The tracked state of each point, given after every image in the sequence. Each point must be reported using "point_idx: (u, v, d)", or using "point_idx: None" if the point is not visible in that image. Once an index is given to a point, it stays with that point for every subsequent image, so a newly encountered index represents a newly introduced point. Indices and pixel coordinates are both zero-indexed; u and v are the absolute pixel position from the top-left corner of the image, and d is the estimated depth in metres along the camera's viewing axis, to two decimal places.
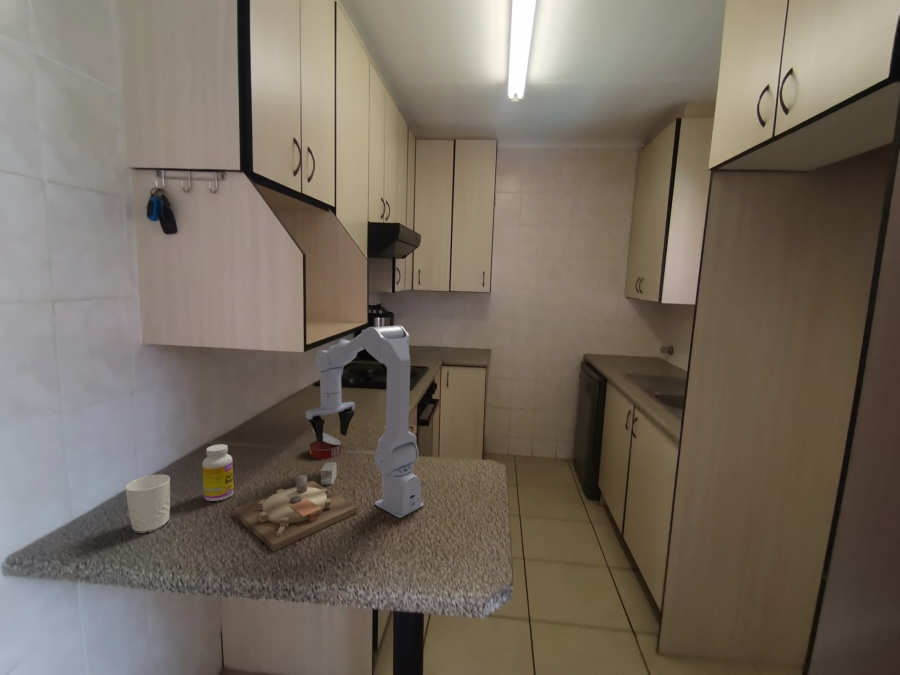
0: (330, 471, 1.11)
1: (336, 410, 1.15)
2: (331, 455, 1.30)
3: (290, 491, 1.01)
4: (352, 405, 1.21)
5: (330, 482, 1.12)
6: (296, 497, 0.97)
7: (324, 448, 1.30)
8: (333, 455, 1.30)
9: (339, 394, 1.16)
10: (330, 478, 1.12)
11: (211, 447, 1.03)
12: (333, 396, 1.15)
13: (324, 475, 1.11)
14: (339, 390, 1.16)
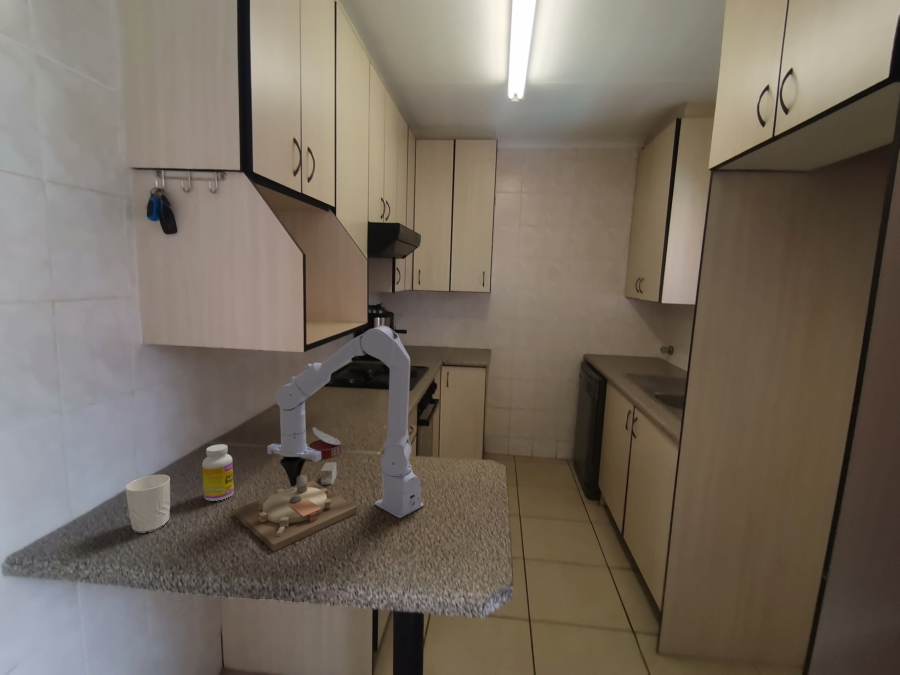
0: (330, 471, 1.11)
1: (284, 454, 0.98)
2: (331, 455, 1.30)
3: (290, 491, 1.01)
4: (312, 456, 0.98)
5: (330, 482, 1.12)
6: (296, 497, 0.97)
7: (324, 448, 1.30)
8: (333, 455, 1.30)
9: (289, 437, 0.98)
10: (330, 478, 1.12)
11: (211, 447, 1.03)
12: (282, 437, 0.98)
13: (324, 475, 1.11)
14: (305, 427, 1.01)
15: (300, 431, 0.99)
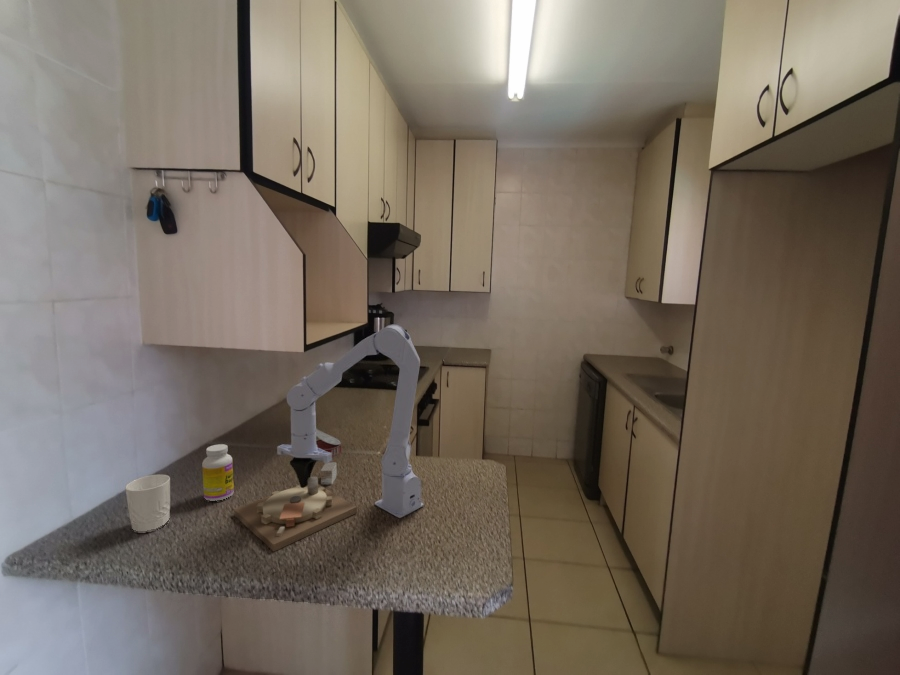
0: (330, 471, 1.11)
1: (294, 455, 0.97)
2: None
3: (304, 489, 1.02)
4: (323, 457, 0.97)
5: (330, 482, 1.12)
6: (297, 498, 0.96)
7: (324, 448, 1.30)
8: (333, 455, 1.30)
9: (300, 438, 0.97)
10: (330, 478, 1.12)
11: (211, 447, 1.03)
12: (293, 438, 0.97)
13: (324, 475, 1.11)
14: None
15: (311, 432, 0.98)
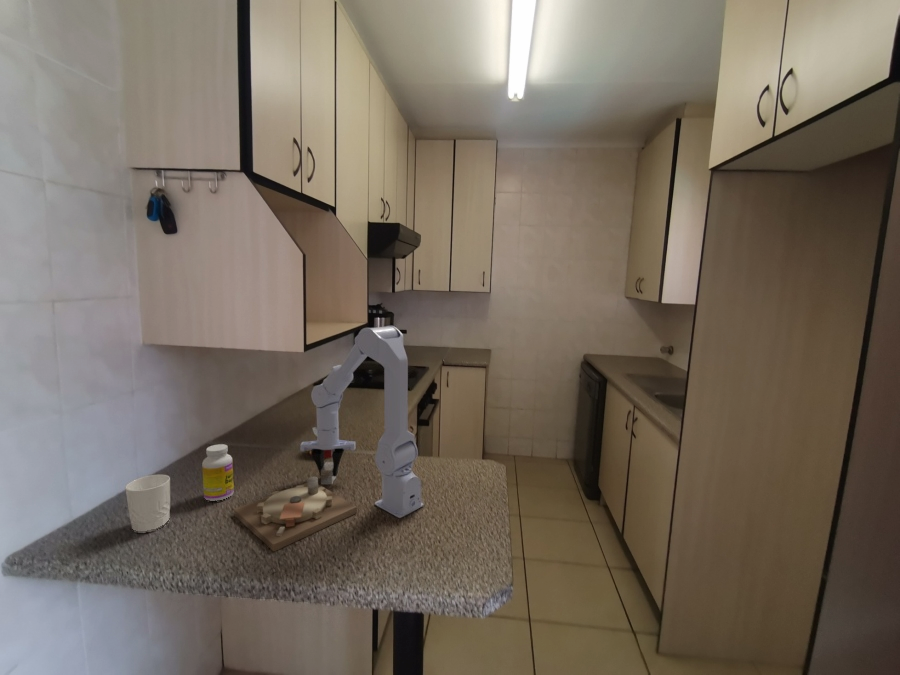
0: (330, 471, 1.11)
1: (324, 448, 1.10)
2: (331, 455, 1.30)
3: (304, 489, 1.02)
4: (350, 446, 1.13)
5: (330, 482, 1.12)
6: (297, 498, 0.96)
7: None
8: None
9: (330, 432, 1.10)
10: (330, 478, 1.12)
11: (211, 447, 1.03)
12: (322, 433, 1.10)
13: (324, 474, 1.11)
14: (337, 425, 1.12)
15: (329, 428, 1.10)
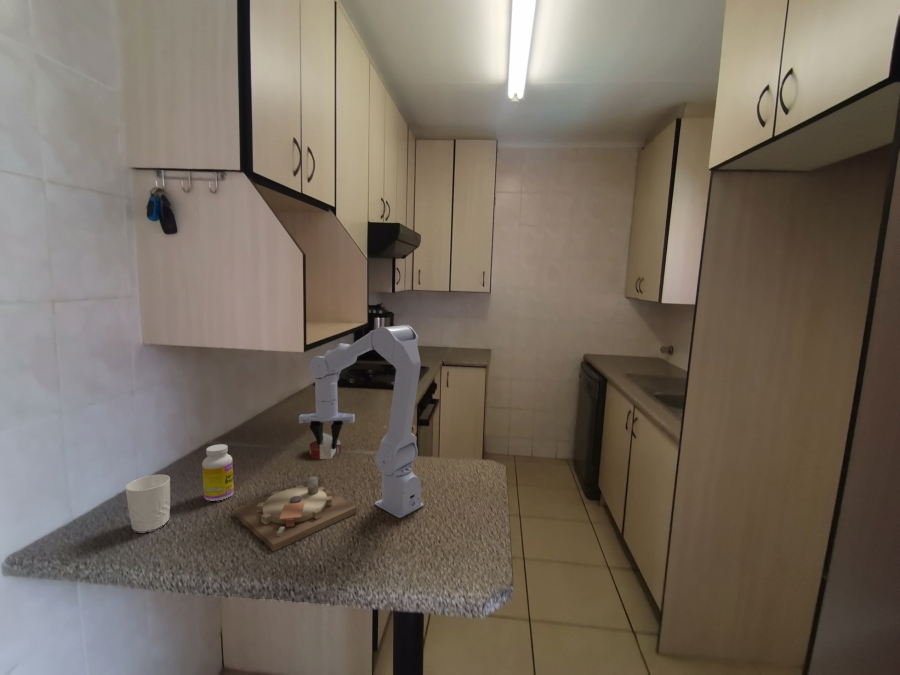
0: (329, 445, 1.10)
1: (323, 419, 1.09)
2: None
3: (304, 489, 1.02)
4: (349, 418, 1.11)
5: (329, 456, 1.11)
6: (297, 498, 0.96)
7: None
8: (333, 455, 1.30)
9: (328, 403, 1.09)
10: (329, 452, 1.11)
11: (211, 447, 1.03)
12: (321, 404, 1.09)
13: (322, 449, 1.10)
14: (336, 397, 1.11)
15: (328, 399, 1.09)
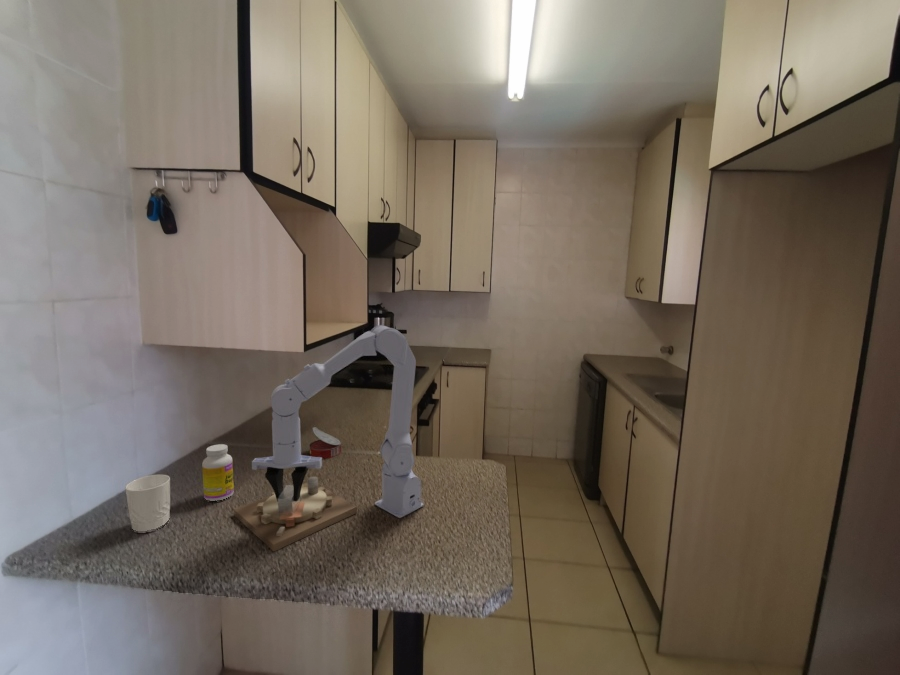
0: (290, 499, 0.89)
1: (281, 466, 0.88)
2: (331, 455, 1.30)
3: (304, 489, 1.02)
4: (315, 463, 0.90)
5: (290, 512, 0.90)
6: None
7: (324, 448, 1.30)
8: (333, 455, 1.30)
9: (288, 446, 0.88)
10: (290, 507, 0.90)
11: (211, 447, 1.03)
12: (278, 447, 0.87)
13: (282, 504, 0.89)
14: None
15: (298, 438, 0.90)
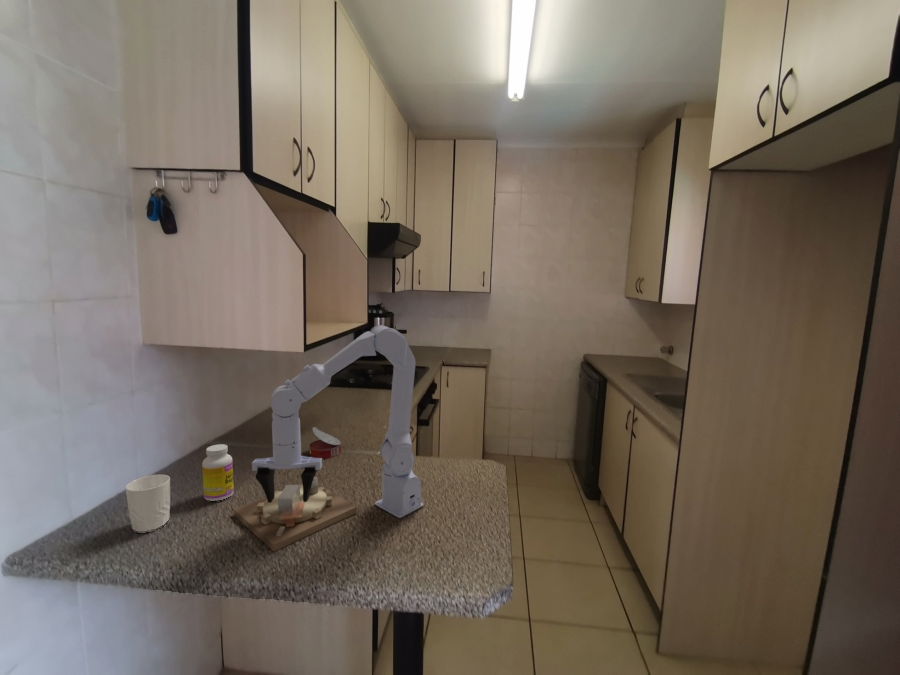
0: (290, 499, 0.89)
1: (281, 467, 0.88)
2: (330, 455, 1.30)
3: None
4: (315, 464, 0.90)
5: (290, 512, 0.90)
6: None
7: (324, 448, 1.30)
8: (333, 455, 1.30)
9: (288, 447, 0.88)
10: (290, 507, 0.90)
11: (211, 447, 1.03)
12: (278, 448, 0.88)
13: (282, 504, 0.89)
14: None
15: (298, 439, 0.90)
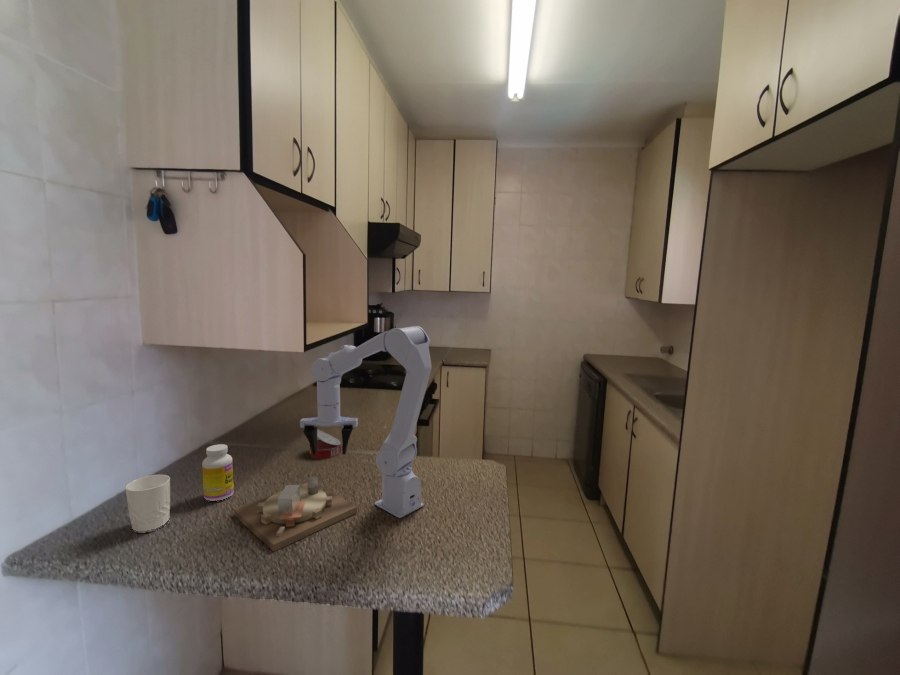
0: (290, 499, 0.89)
1: (325, 424, 1.05)
2: (330, 455, 1.30)
3: (304, 489, 1.02)
4: (352, 422, 1.08)
5: (290, 512, 0.90)
6: None
7: (324, 448, 1.30)
8: (332, 455, 1.30)
9: (331, 407, 1.05)
10: (290, 507, 0.90)
11: (211, 447, 1.03)
12: (323, 408, 1.05)
13: (282, 504, 0.89)
14: (339, 400, 1.08)
15: (331, 403, 1.05)
